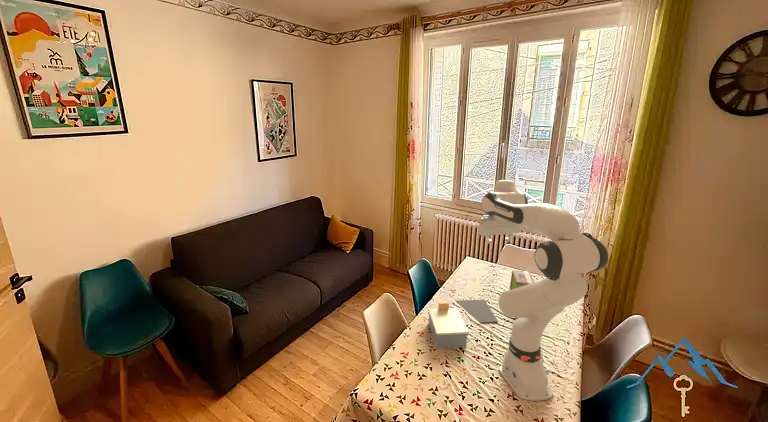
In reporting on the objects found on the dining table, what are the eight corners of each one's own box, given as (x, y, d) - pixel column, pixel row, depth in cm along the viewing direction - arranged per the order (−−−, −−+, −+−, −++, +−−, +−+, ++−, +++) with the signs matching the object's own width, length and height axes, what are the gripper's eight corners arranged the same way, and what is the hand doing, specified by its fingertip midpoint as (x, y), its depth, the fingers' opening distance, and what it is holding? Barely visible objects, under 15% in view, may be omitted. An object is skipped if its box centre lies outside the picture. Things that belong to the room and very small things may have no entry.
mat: (497, 322, 174) (498, 321, 174) (467, 323, 173) (467, 322, 173) (484, 300, 193) (484, 299, 193) (456, 301, 192) (456, 300, 192)
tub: (466, 347, 156) (467, 333, 154) (436, 349, 155) (437, 334, 153) (455, 323, 173) (456, 309, 171) (428, 324, 172) (429, 311, 170)
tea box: (531, 307, 186) (535, 284, 182) (512, 305, 188) (516, 282, 184) (526, 292, 200) (530, 270, 196) (508, 291, 202) (511, 269, 198)
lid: (468, 335, 154) (469, 324, 152) (436, 337, 153) (437, 326, 151) (456, 311, 172) (457, 301, 170) (428, 312, 171) (428, 302, 169)
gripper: (483, 218, 149) (480, 246, 153) (525, 215, 152) (521, 243, 157) (476, 213, 155) (474, 241, 159) (517, 211, 158) (514, 238, 163)
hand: (498, 242), depth 158 cm, fingers open, 8 cm apart
